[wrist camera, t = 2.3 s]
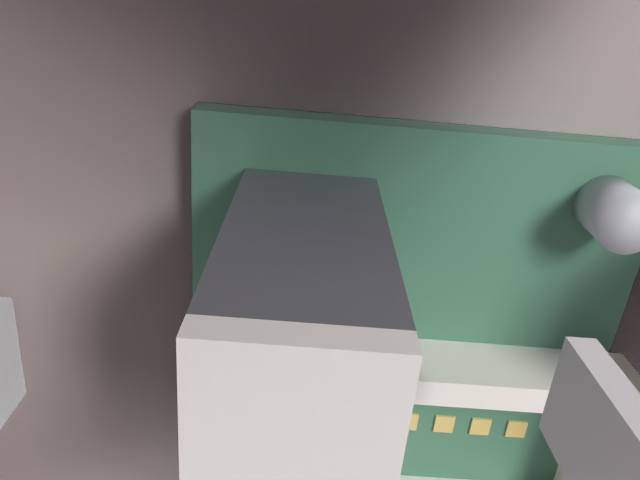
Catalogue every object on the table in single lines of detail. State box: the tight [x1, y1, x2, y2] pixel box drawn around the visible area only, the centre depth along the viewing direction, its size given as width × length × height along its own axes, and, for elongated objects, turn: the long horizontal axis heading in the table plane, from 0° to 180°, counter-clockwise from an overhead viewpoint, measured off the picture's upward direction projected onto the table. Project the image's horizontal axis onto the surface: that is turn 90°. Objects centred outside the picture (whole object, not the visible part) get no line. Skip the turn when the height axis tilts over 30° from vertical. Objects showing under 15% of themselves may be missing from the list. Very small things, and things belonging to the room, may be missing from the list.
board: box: [191, 102, 640, 480], centre depth 22 cm, size 18×16×3 cm
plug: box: [176, 168, 423, 480], centre depth 16 cm, size 5×4×10 cm
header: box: [400, 339, 640, 480], centre depth 23 cm, size 8×11×3 cm
